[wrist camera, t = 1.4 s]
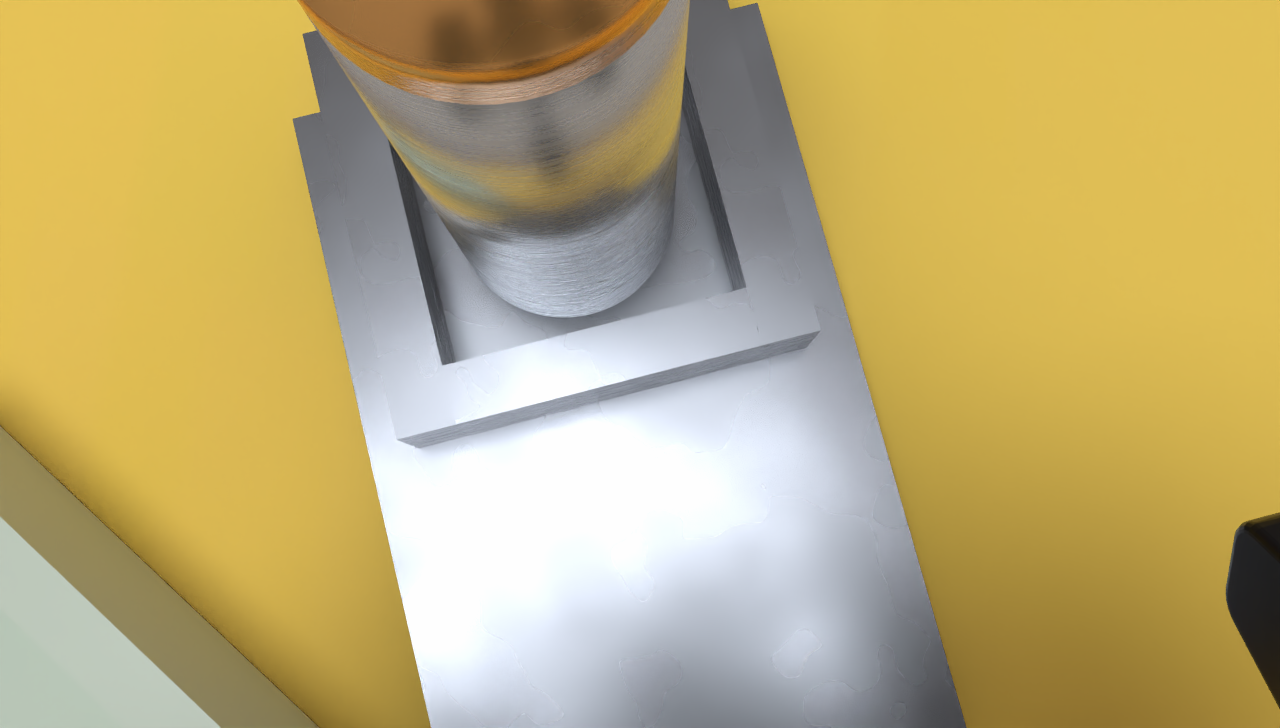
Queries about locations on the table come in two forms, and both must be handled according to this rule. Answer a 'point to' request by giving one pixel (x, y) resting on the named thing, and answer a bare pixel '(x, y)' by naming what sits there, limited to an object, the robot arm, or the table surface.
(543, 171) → the pin
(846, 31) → the table surface
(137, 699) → the tray
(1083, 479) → the table surface
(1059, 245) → the table surface
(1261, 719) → the table surface
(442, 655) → the grey slab
